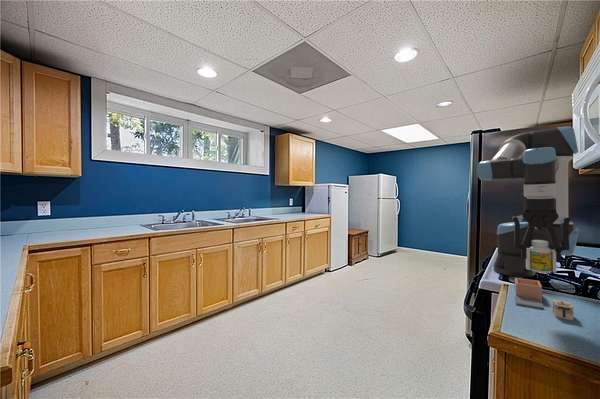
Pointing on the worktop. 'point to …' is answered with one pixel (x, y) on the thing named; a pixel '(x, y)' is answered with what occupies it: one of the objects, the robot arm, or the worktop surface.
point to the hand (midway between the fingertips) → (540, 269)
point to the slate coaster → (529, 302)
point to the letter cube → (563, 309)
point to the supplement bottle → (540, 257)
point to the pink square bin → (528, 288)
